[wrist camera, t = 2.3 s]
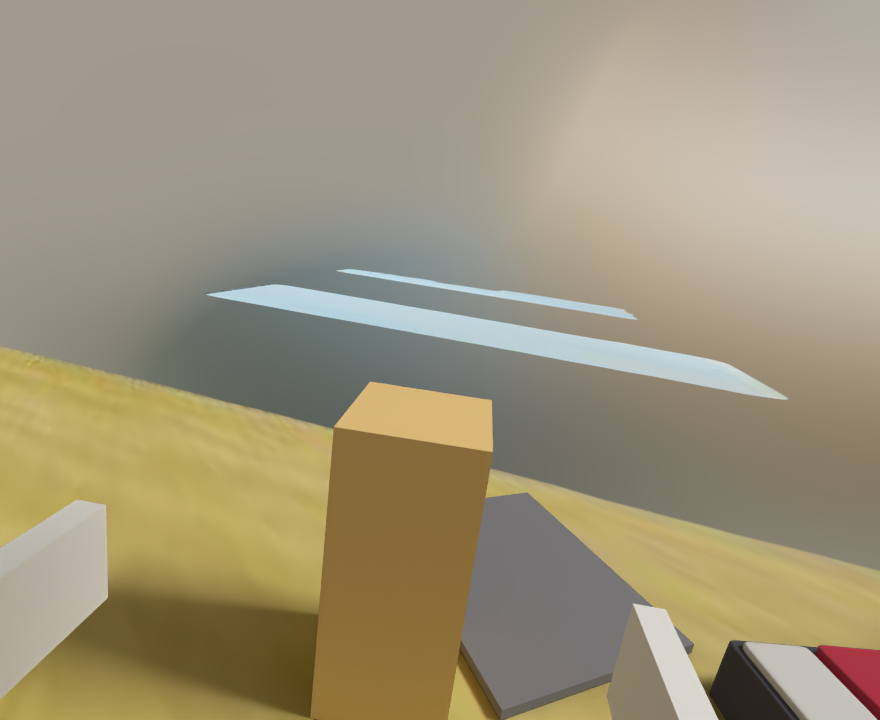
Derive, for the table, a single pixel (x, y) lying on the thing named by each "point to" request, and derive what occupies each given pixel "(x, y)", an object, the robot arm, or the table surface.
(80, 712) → the table surface
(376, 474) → the ochre block
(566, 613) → the charcoal mat
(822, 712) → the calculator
